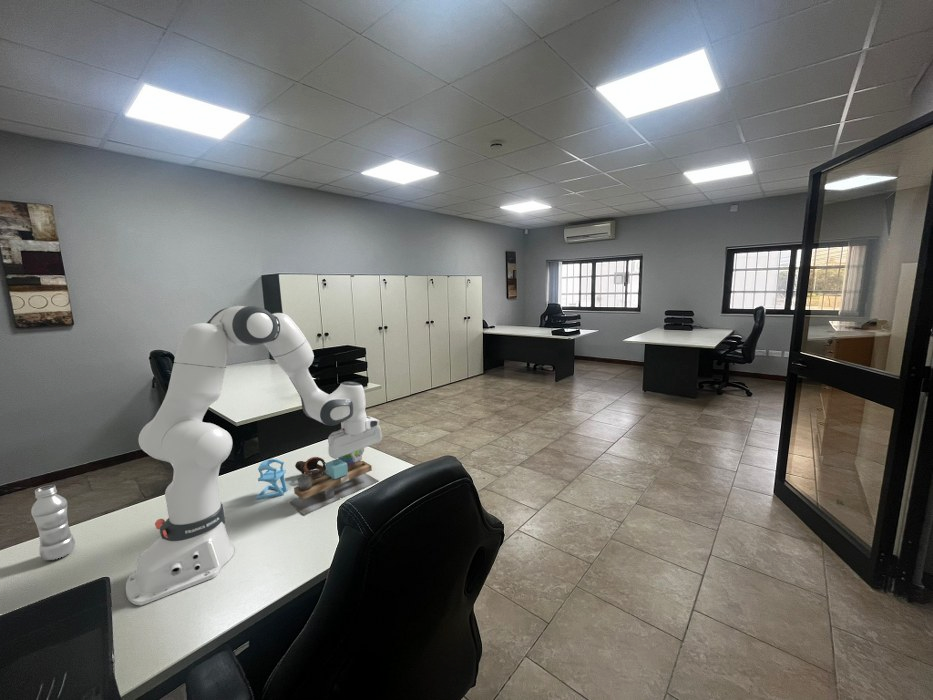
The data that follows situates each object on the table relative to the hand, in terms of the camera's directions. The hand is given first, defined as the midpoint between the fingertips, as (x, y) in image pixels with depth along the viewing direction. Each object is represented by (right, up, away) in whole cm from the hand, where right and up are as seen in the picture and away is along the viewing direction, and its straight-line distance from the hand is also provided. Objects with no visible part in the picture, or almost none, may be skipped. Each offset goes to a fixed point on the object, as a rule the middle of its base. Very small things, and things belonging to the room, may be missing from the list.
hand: (357, 460), depth 139 cm
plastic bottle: (-71, -16, -36) cm, 81 cm away
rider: (-5, -5, -6) cm, 9 cm away
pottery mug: (-19, -8, +6) cm, 22 cm away
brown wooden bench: (-6, -9, -6) cm, 12 cm away
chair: (-28, -10, -6) cm, 30 cm away
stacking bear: (-7, -7, +13) cm, 16 cm away
